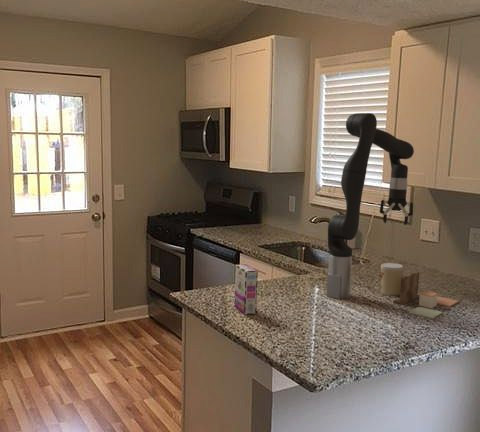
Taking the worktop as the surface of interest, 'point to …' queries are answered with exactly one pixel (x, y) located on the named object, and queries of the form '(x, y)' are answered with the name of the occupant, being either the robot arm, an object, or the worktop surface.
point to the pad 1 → (426, 312)
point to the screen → (408, 288)
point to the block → (428, 299)
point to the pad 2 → (446, 301)
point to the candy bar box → (246, 289)
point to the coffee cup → (391, 278)
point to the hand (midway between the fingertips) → (395, 223)
